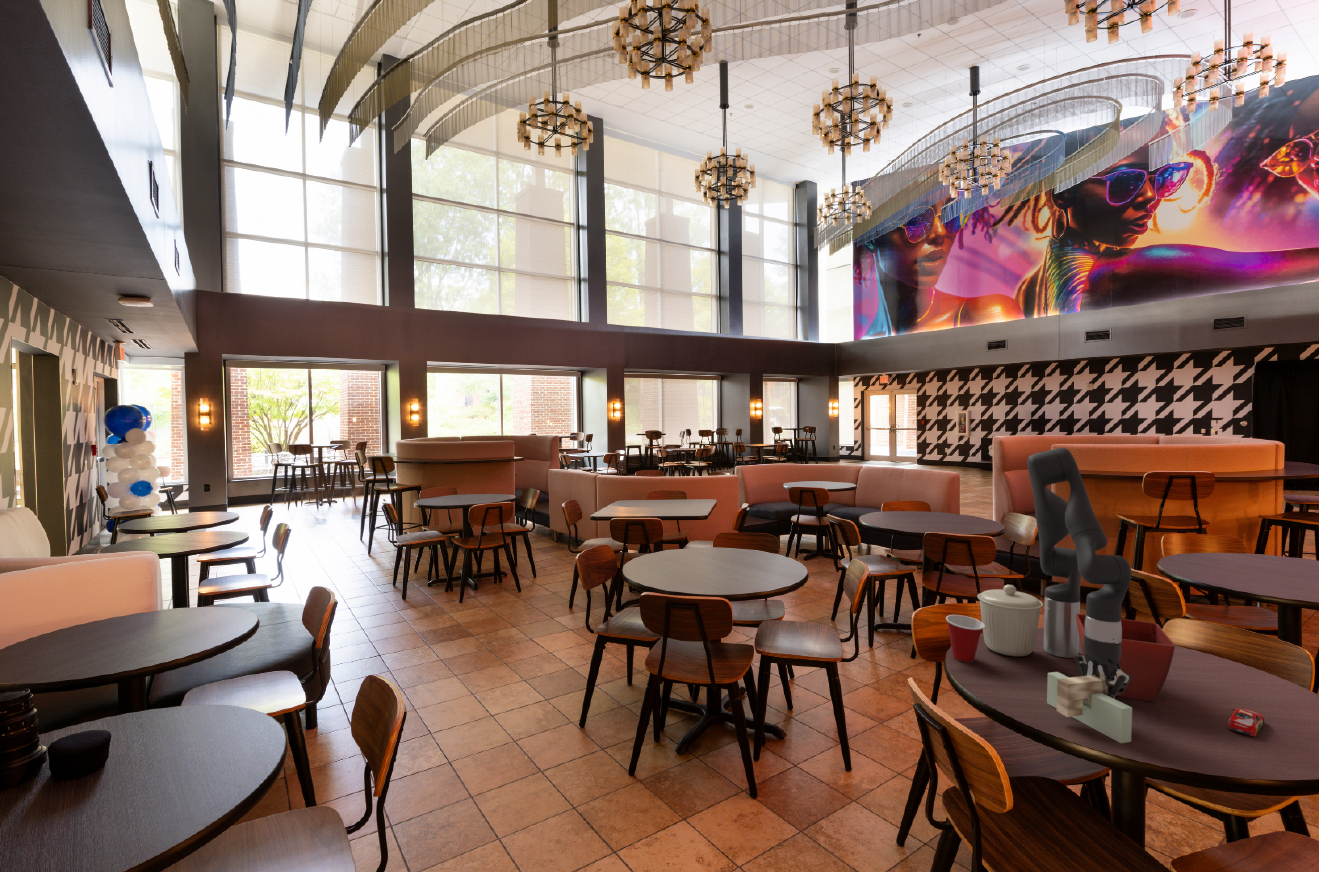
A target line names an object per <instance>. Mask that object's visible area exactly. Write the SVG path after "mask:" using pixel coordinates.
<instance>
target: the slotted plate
mask: <svg viewBox="0 0 1319 872" xmlns="http://www.w3.org/2000/svg"><path fill="white" fill-rule="evenodd" d="M1107 680H1110V679H1107ZM1101 681H1102V680H1100V677H1099V676H1096V675H1093V676H1091V675H1089V676H1080V675H1079V676H1072V677H1069V678H1063V679H1057V708H1056V712H1057V713H1059V714H1060V715H1063V716H1065V717H1066V718H1070V717H1072V716H1080V715H1083V700H1085V699H1087V702H1088V703H1090V704H1091V700H1092V694H1098V693H1104V690H1103V684H1102V682H1101ZM1109 689H1110V686H1109ZM1114 699H1115V695H1114ZM1115 700H1116V699H1115ZM1072 718H1073V717H1072Z"/></svg>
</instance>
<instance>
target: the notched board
mask: <svg viewBox="0 0 1319 872" xmlns="http://www.w3.org/2000/svg"><path fill="white" fill-rule="evenodd" d="M1063 678H1070V677H1069V676H1066V675H1065V674H1063V673H1061V672H1059V671H1053V672H1047V687H1046V704H1047V705H1049V706H1052V707H1053V708H1055V709H1057V679H1063ZM1072 718H1073V719H1075V720H1077V721H1079V722H1081V723H1083V724H1084V725H1086V726H1088V727H1090V728H1092V729H1094V730H1096V731H1097V732H1099V733H1100V734H1103V735H1105V736H1106V737H1109V738H1110V739H1112V740H1113V741H1116V742H1117V743H1119V744H1125V743H1131V742H1132V730H1133V728H1132V727H1133V707H1132V706H1129V705H1128V704H1125V702H1121V701H1119V700H1117V699H1113V698H1111V697H1109V696H1107V695H1105V694H1103V693H1098V694H1092V700H1091V704H1090V703H1088V701H1086V700H1085V699H1083V715H1080V716H1072Z"/></svg>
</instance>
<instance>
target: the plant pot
mask: <svg viewBox="0 0 1319 872" xmlns="http://www.w3.org/2000/svg"><path fill="white" fill-rule="evenodd" d="M1085 619H1086V614H1083V613H1080V614H1076V621H1077V628H1078V633H1079V643H1080V646H1081V651H1082V655H1085V653H1086V652H1085V651H1084V624H1085ZM1121 626H1122V650H1121V658H1120V660H1119V664H1120V667H1121V671H1123V672H1124V673H1125V674H1126V675H1128V674H1129V675H1131V677H1132V679H1131V681H1130V683H1129V684H1128V686H1127V688H1126V689H1125V691H1124V693H1123V694H1119V695H1115V696H1116V697H1121V698H1127V699H1134V700H1140V701H1146V702H1150V703H1151V702H1155V701H1157V699H1158V697H1159V695H1160V693H1161V691H1162V689H1163V687H1164V685H1165V683H1166V681H1167V678H1168V675H1169V672H1170V669H1171V665H1172V662H1173V658H1174V654H1175V649H1176V645H1175V643H1174V642H1173V641H1172V640H1171V638H1170V637H1169V636H1168V635H1167V634H1166V632H1165V631H1164V630H1163V629H1162V627H1161V626H1160V625H1159V624H1158V623H1155V622H1150V621H1141V620H1140V621H1139V620H1133V619H1125V618H1121ZM1116 677H1117V674H1116ZM1116 680H1117V679H1116Z"/></svg>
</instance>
